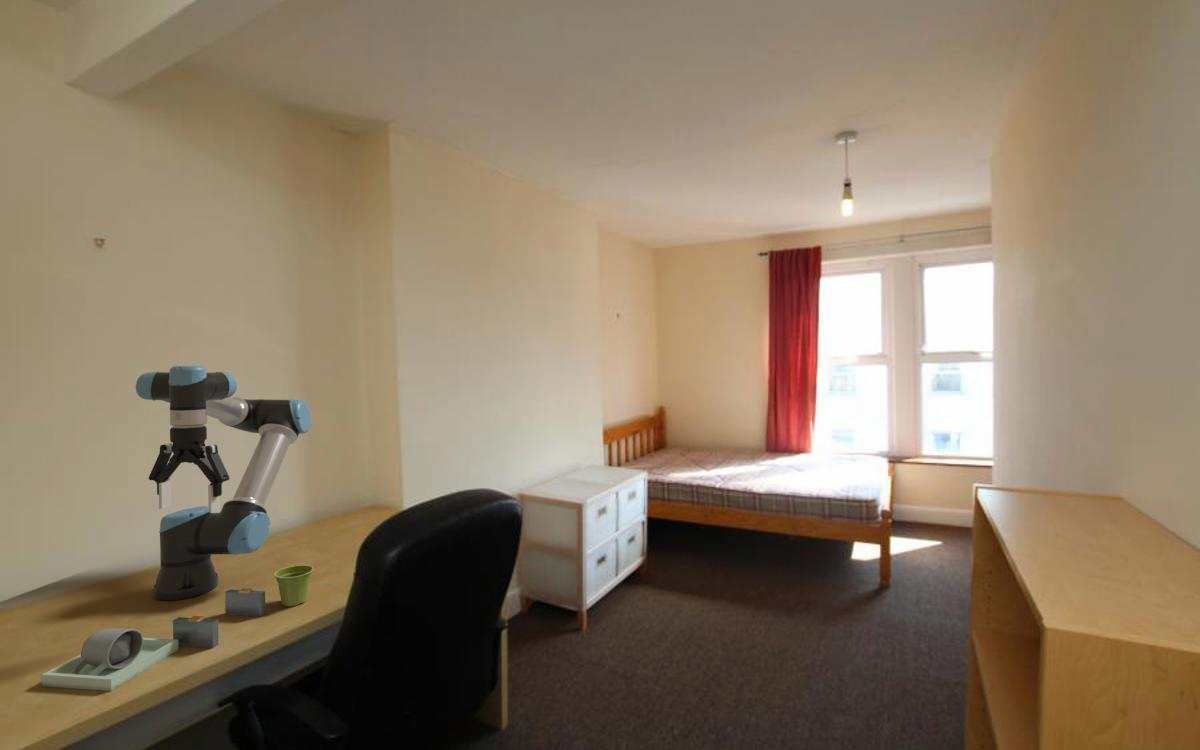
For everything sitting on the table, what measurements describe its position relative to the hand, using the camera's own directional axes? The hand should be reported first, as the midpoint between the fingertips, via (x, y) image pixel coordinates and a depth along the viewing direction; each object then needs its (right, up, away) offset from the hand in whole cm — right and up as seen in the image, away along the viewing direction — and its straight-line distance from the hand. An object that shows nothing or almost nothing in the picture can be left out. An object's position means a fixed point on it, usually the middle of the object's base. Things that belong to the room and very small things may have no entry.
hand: (189, 508), depth 139 cm
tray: (0, -29, -21) cm, 36 cm away
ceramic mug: (-1, -29, -23) cm, 37 cm away
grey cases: (+11, -29, -4) cm, 31 cm away
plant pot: (+21, -29, +11) cm, 37 cm away
